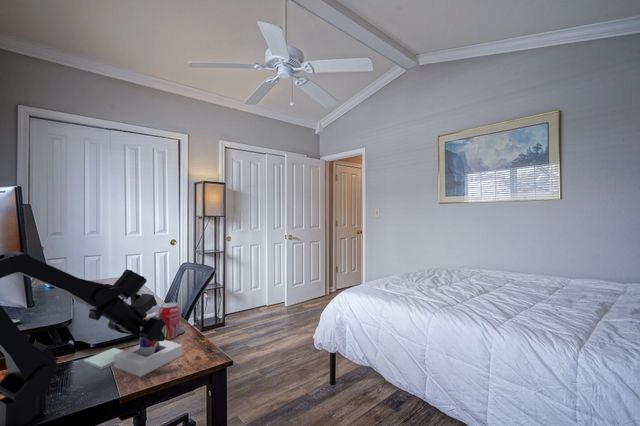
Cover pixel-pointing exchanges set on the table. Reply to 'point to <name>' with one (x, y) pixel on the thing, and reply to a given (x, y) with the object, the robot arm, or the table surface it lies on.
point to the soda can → (170, 319)
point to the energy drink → (148, 347)
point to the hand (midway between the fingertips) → (153, 336)
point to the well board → (147, 358)
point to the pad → (103, 359)
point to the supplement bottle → (150, 314)
